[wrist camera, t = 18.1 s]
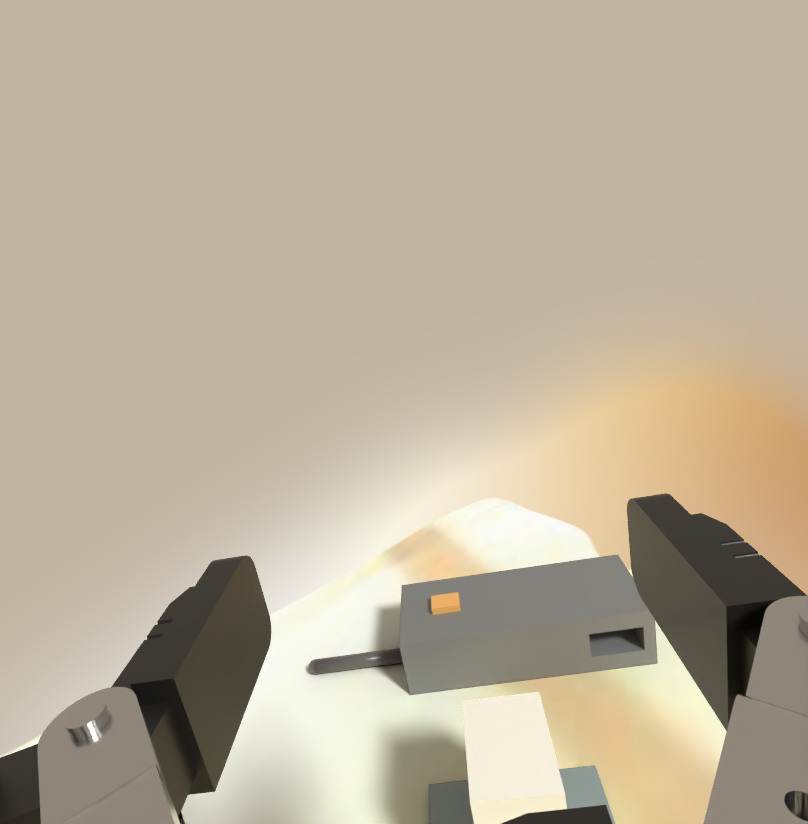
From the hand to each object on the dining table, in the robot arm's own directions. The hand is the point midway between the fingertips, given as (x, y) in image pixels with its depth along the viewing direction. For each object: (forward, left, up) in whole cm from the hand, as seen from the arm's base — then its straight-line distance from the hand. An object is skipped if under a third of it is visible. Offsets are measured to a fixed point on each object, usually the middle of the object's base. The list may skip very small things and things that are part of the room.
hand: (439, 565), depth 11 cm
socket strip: (-1, +30, -28) cm, 41 cm away
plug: (+1, +14, -27) cm, 31 cm away
